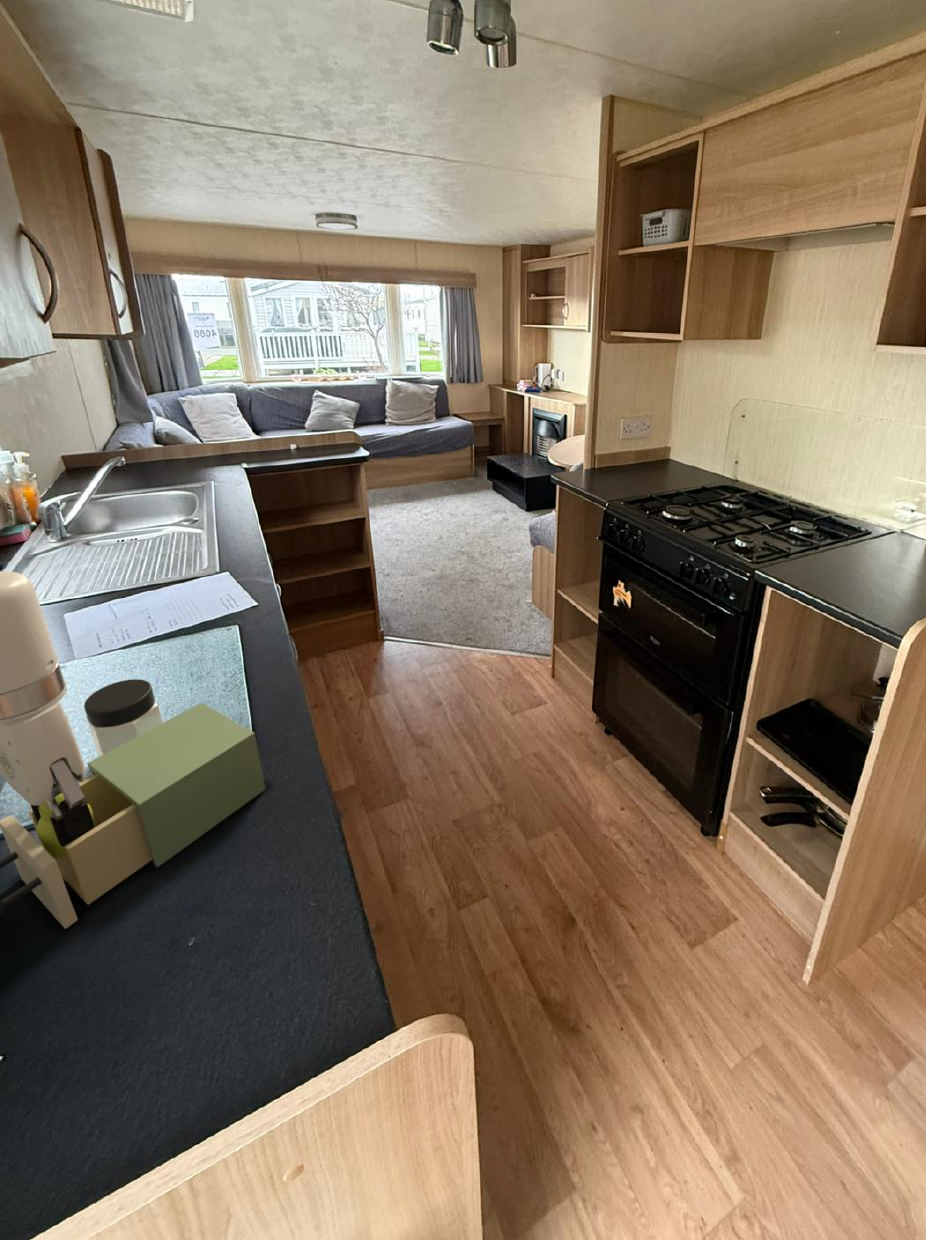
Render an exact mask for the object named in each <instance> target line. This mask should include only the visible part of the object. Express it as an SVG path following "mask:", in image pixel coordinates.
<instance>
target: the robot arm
mask: <svg viewBox="0 0 926 1240" xmlns="http://www.w3.org/2000/svg"><path fill="white" fill-rule="evenodd" d="M40 604H41V603H40V602H39V598H38V596H37V593H36V590H35V587H34V584H33V582H32V581H31V580H30V579H29V577H27V576H26V575H24V574H23V573H20V572H16V571H9V570H8V571H7V570H6V571H5V570H3V571H0V776H1V777H2V779H3V780H4V781H5V782H6V783H7V784H8V786H10V787H11V788H12V789H13V790H14V791H15V792H16V793H17V794H18V795H19V796H20V797H21V798H22V799H23V800H24V801H26V802H27V803H28V804H29V805H30V809H32V811H33V813H34V816H35V818H36V821H37V822H39V820H40V818H41V815H40V812H39V805H41V804H42V803H44V802H45V801H47V804H48V806H49V808H50V810H51V812H52V814H53V816H52V817H51V818H50V820H51V823H52V826H53V828H54V831H55V834H56V836H57V839H58V842H59V844H60V845H61V846H62V847H65V846H66V845H68V844H69V843H71V842H73V841H74V840H76V839H78V838H79V837H81V836H82V835H84V834H86V833H87V832H89V831H90V830H92V829H93V828H94V826H95V825H94V822H93V819H92V816H91V813H90V810H89V807H88V804H87V801H86V799H85V796H84V794H83V792H82V790H81V788H80V786H79V783H80V782H83V781H84V780H85V779H86V777H87V771H86V766H85V763H84V760H83V757H82V754H81V751H80V747H79V745H78V743H77V740H76V737H75V735H74V732H73V730H72V727H71V725H70V722H69V720H68V719H69V718H68V716H67V715H66V712H65V709H64V708H63V705H62V703H61V702H60V700H62V699H63V698H64V696H65V695H66V693H67V691H68V687H67V685H66V680H65V678H64V675H63V671H62V669H61V666H60V662H59V660H58V657H57V653H56V651H55V647H54V644H53V642H52V638H51V636H50V632H49V628H48V626H47V623H46V620H45V616H44V613H43V610H42V608H41V605H40ZM52 788H53V789H52ZM61 793H62V794H63V796H64V800H63V801H62V802H60V804H59V806H58V804H57V801H56V799H55V797H56V796H57V795H59V794H61Z"/></svg>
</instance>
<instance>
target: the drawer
mask: <svg viewBox="0 0 926 1240" xmlns="http://www.w3.org/2000/svg"><path fill="white" fill-rule="evenodd" d="M78 783H79V786H80V788H81V790H82V792H83V794H84V796H85V799H86V801H87V803H88V804H89V805H90V807H91V808H92V810H93V820H94V823H95V826H96V827H95V828H94V829H92V830H90V831H89V832H87V833H86V834H84V835H82V836H81V837H79V838H78V839H76V840H74V841H73V842H71V843H69V844H68V845H66V846H65V848H66V851H67V854H68V855H67V856H63V857H52V856H51V855H50V854H49V853H48V852H47V851H46V849H45V846H44V844H43V843H42V842H41V841H40V840H39V841H40V843H39V841H38V840H37V839H36V838H35V837H34V836H33V835H32V834H31V832H29V831H28V830H27V828H25V827H24V826H23V825H22V824H21V823H20V822H19V821H18V820H17V819H16V818H15V816H14V815H12V814H10V815H7V816H5V817H3V818H2V819H0V830H1V832H2V835H3V837H4V840H5V842H6V844H7V847H8V850H9V852H10V853H9V854H8V855H7V856H5V857H3V858H2V859H0V869H2V868H4V867H5V866H7V865H9V864H10V863H14V864H15V866H16V870H17V871H18V874H19V876H20V879H21V880H22V881H23V883H24V884H25V885H23V886H22V887H20V888H18V889H17V890H15V891H13V892H12V893H10V894H9V895H8V896H6V897H4V898H3V899H1V900H0V916H1V915H2V914H3V913H4V912H5V908H6V907H8V906H9V905H11V904H13V903H14V902H15V901H17V900H18V899H20V898H22V897H23V896H24V895H26V894H28V893H30V892H32V893H33V894H34V895H35V896H36V897H37V898H38V900H39V901H40V902H41V903H42V904H43V906H44V907H45V908H46V909H47V910H48V911H49V912H50V913H51V915H52V916H53V917H54V918H55V919H56V920H57V922H58V923H59V924H60V925H61V926H62V927H63V928H64V929H65V930H66V929H67V928H69V927H70V926H71V925H73V924H74V923H76V922H78V920H79V919H78V916H77V913H76V911H75V908H74V906H73V903H72V900H71V898H70V895H69V892H68V889H67V887H66V884H65V883H67V885H68V886H69V887H70V888H71V889H72V890H73V891H74V892H75V893H76V894H77V896H78V897H80V899H81V900H83V902H84V903H85V904H86V905H87V906H89V905H91V904H92V903H93V902H95V901H96V900H98V899H99V898H100V897H102V896H104V894H106V893H107V892H109V891H110V890H111V889H113V888H115V887H116V886H117V885H119V884H120V883H121V882H123V881H124V880H125V879H127V878H128V877H130V876H132V875H133V874H135V872H137V871H138V870H140V869H141V868H142V867H144V866H146V865H147V864H148V863H150V862H151V861H153V859H152V856H151V852H150V849H149V846H148V842H147V839H146V835H145V832H144V829H143V825H142V822H141V818H140V815H139V812H138V808H137V806H135V805H134V804H133V803H132V802H130V801H129V800H128V799H127V798H125V797H124V796H123V795H122V794H121V793H119V792H118V791H117V790H116V789H114V788H113V787H112V786H111V785H109V784H108V783H107V782H106V781H104V780H103V779H102V778H101V777H99V776H98V775H97V774H94V775H92V776H91V775H89V776H88V777H87V778H85V779H84V781H83V782H80V781H79V782H78ZM28 812H29V815H30V818H31V821H32V823H33V826H34V828H35V831H36V832H37V825H38V822H37V821H36V818H35V816H34V813H33V811H32V808H30V809H29V810H28Z"/></svg>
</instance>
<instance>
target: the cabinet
mask: <svg viewBox="0 0 926 1240" xmlns="http://www.w3.org/2000/svg"><path fill="white" fill-rule="evenodd" d="M260 758H261V757H260V753H259V748H258V743H257V738H256V733H255V732H254V731H252V730H250V729H249V728H247V727H245V726H243V725H242V724H240V723H238V722H236V721H235V720H233V719H231V718H229V717H228V716H226V715H225V714H222V713H221V712H219V711H217V710H216V709H214V708H212V707H210V706H208V705H207V704H205V703H203V702H200V703H198V704H195V705H193V706H192V707H190V708H188V709H187V710H184V711H183V712H181V713H178V714H177V715H175V716H174V717H171V718H169V719H168V720H166V721H164V722H163V723H162V724H160V725H158V726H156V727H155V728H153V729H151V730H149V731H147V732H145V733H143V734H141V735H139V736H138V737H136V738H134V739H132V740H130V741H128V742H126V743H124V744H123V745H121V746H119V747H117V748H115V749H113V750H111V751H109V752H108V753H106V754H104V755H102V756H100V757H99V756H98V757H96V758H94V759H92V760H91V761H89V762H87V766H88V770H89V773H90V776H92V775H94V774H97V775H98V776H99V777H101V778H102V779H103V780H104V781H106V782H107V783H108V784H109V785H111V786H112V787H113V788H114V789H116V790H117V791H118V792H119V793H121V794H122V795H123V796H124V797H125V798H127V799H128V800H129V801H130V802H132V803H133V804H134V805H135V806H137V808H138V812H139V815H140V818H141V822H142V825H143V829H144V832H145V835H146V839H147V842H148V846H149V849H150V852H151V856H152V862H153V865H154V866H155V867H156V868H159V867H160V866H161V865H163V864H164V863H165V862H167V861H168V860H170V859H172V858H173V857H174V856H175V855H177V854H179V852H181V851H182V850H183V849H185V848H186V847H188V846H189V845H191V844H193V842H194V841H196V840H197V839H199V838H201V837H203V835H204V834H206V833H207V832H209V831H210V830H212V829H213V828H214V827H215V826H217V825H218V824H220V823H221V822H223V821H224V820H226V819H227V818H228V817H230V816H231V815H232V814H234V813H235V812H236V811H238V810H239V809H240V808H242V807H243V806H244V805H246V804H247V803H249V802H250V801H251V800H253V799H255V798H256V797H257V796H258V795H260V794H261V793H262V792H264V791H266V784H265V780H264V774H263V769H262V763H261V759H260Z"/></svg>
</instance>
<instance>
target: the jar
mask: <svg viewBox="0 0 926 1240" xmlns="http://www.w3.org/2000/svg"><path fill="white" fill-rule="evenodd" d="M156 701H157V700H156V698H155V694H154V690H153V687H152V684H151V683H150V682H149V681H147V680H145V679H139V678H138V679H137V678H135V679H125V680H120V681H117V682H113V683H110V684H108V685H106V686H103V687H101V688H100V689H98V690H96V691H94V692H93V693H91V694H90V695H89V696H88V697H87V698H86V700H85V702H84V705H83V708H84V711H85V715H86V720H87V723H88V726H89V729H90V730H89V731H90V732H91V736H92V739H93V742H94V745H95V749H96V752H97V756H98V757H100V756H102V755H104V754H106V753H108V752H109V751H111V750H113V749H115V748H117V747H119V746H121V745H123V744H124V743H126V742H128V741H130V740H132V739H134V738H136V737H138V736H139V735H141V734H143V733H145V732H147V731H149V730H151V729H153V728H155V727H156V726H158V725H160V724H162V723H164V722H163V719H162V714H161V711H160V707H159V704H158V702H156Z"/></svg>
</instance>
